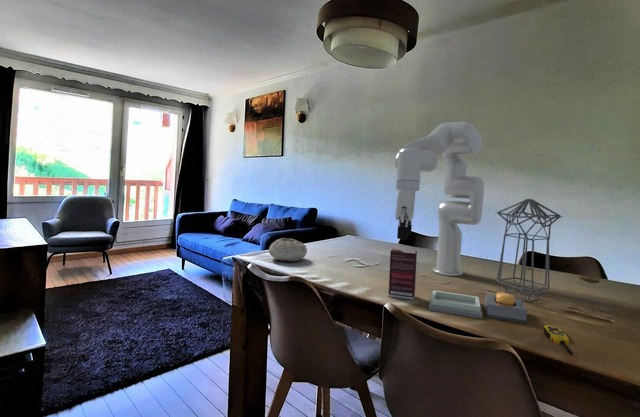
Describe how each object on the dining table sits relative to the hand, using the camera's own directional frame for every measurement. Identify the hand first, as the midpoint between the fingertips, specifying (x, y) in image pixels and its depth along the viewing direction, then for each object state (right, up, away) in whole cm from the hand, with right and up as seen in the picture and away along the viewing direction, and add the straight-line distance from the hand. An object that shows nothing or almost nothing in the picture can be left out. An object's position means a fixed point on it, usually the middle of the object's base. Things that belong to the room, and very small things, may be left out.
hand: (404, 237), depth 115 cm
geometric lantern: (+43, -22, +7) cm, 49 cm away
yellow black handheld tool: (+33, -25, -28) cm, 50 cm away
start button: (+28, -20, -11) cm, 36 cm away
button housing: (+28, -23, -11) cm, 37 cm away
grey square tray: (+15, -22, -6) cm, 27 cm away
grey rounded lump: (-44, -15, +48) cm, 66 cm away
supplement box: (-1, -21, +2) cm, 21 cm away
